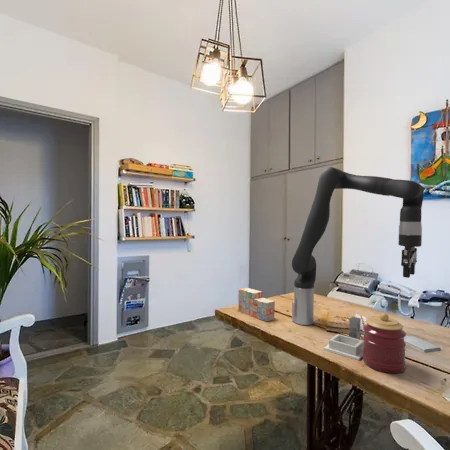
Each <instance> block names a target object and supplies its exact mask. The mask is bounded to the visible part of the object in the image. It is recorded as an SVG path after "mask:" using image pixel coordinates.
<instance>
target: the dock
mask: <svg viewBox="0 0 450 450" xmlns="http://www.w3.org/2000/svg"><path fill="white" fill-rule="evenodd" d="M363 340H364V339H361V340H359V339H355V338H351V337H349V335H342V334H341V333H340V334H339V333H337V334H336V335H334V336H332V337H331V338H330V339H328V344H326V345H325V346H324V347H323V351H327V352H330V353H334V354H335V355H336V354H337V355H340V356H343V357H346V358H350V359H352V360H354V361H361V359H362V358H363V351H364V341H363Z"/></svg>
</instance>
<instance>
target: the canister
mask: <svg viewBox="0 0 450 450" xmlns="http://www.w3.org/2000/svg"><path fill="white" fill-rule="evenodd" d="M365 322H366V324H365V325H363V328H362V329H363V330H364V334H363V337H362V338H363V340H364V351H363V357H362V358H363V362H364V364H366V365H367V366H368V367H370V368H371V369H374V370H376V371H380V372H383V373H388V374H398V373H402V372H403V371H405V368H406V363H407V361H406V346H407V344H406V343H405V341H404V337H405V336H407V333H406V332H405V330H403V329H404V325H403V324H402V323H400V322H399V321H398V320H397V319H394V318H391V317H389V315H388V314H387V313H386V312H382V313H380V316H379V315H377V316H371V317H370V318H368V319H366V320H365Z"/></svg>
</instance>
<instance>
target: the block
mask: <svg viewBox="0 0 450 450" xmlns="http://www.w3.org/2000/svg"><path fill="white" fill-rule="evenodd" d="M361 321H362V320H361V318H360V317H356V316H352V317H350V318H349V324H348V325H349V327H348V337H351V338H355V339H359V340H363V341H364V339H361Z"/></svg>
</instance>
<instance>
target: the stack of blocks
mask: <svg viewBox="0 0 450 450" xmlns="http://www.w3.org/2000/svg"><path fill="white" fill-rule="evenodd" d="M275 303H276V302H275V300H272V299H268V298H265V297H263V291H261V290H257V289H253V288H249V287H244V288H243V287H242V288H238V312H240V313H243V314H245V315H247V316H250V317H253V318H256V319H257V320H258V319H259V320H261V321H263V322H265V323H266V322H269V321H270V322H271V321H274V320H275V308H276V304H275Z"/></svg>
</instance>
